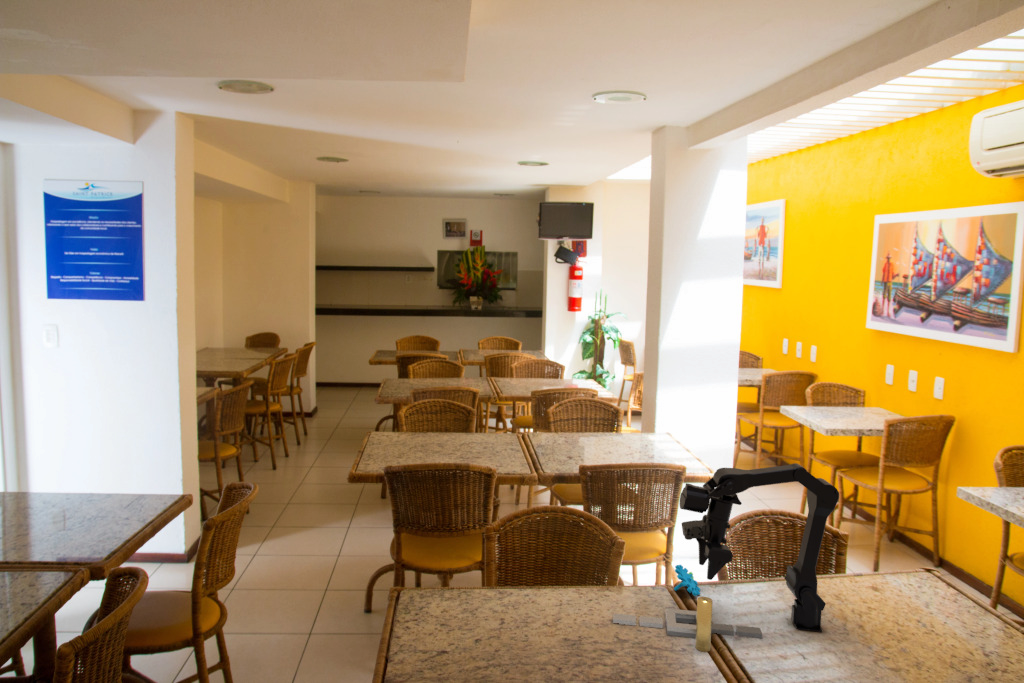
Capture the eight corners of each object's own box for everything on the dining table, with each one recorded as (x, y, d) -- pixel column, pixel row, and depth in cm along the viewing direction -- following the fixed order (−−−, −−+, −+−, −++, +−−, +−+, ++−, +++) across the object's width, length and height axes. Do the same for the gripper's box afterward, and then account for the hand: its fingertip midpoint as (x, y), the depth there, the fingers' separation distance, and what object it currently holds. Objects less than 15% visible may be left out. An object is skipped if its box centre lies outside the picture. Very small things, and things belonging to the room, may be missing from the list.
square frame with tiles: (757, 625, 186) (758, 617, 186) (764, 645, 176) (765, 636, 176) (613, 611, 193) (613, 603, 192) (612, 629, 183) (612, 620, 183)
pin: (709, 645, 176) (711, 597, 175) (711, 652, 173) (713, 603, 171) (694, 643, 177) (696, 596, 175) (696, 651, 173) (698, 602, 172)
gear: (697, 597, 198) (674, 567, 202) (682, 608, 200) (659, 578, 204) (705, 587, 208) (683, 559, 212) (690, 598, 210) (669, 570, 214)
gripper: (681, 498, 195) (668, 551, 196) (695, 522, 176) (682, 580, 178) (720, 506, 194) (708, 559, 196) (739, 531, 176) (725, 589, 177)
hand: (705, 571), depth 187 cm, fingers open, 9 cm apart
